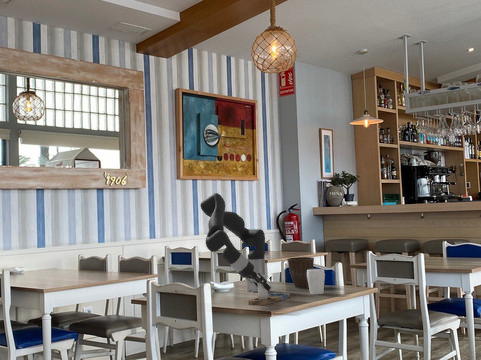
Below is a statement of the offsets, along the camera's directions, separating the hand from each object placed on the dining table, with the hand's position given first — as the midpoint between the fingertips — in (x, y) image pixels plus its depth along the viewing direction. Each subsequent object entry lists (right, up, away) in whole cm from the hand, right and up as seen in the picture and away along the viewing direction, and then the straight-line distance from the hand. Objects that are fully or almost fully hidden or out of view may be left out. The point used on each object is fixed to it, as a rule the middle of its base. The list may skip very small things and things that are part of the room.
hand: (265, 288), depth 273 cm
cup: (+27, -8, +27) cm, 39 cm away
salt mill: (-1, -6, -1) cm, 7 cm away
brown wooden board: (+2, -7, +5) cm, 9 cm away
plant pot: (+23, -10, +56) cm, 61 cm away
